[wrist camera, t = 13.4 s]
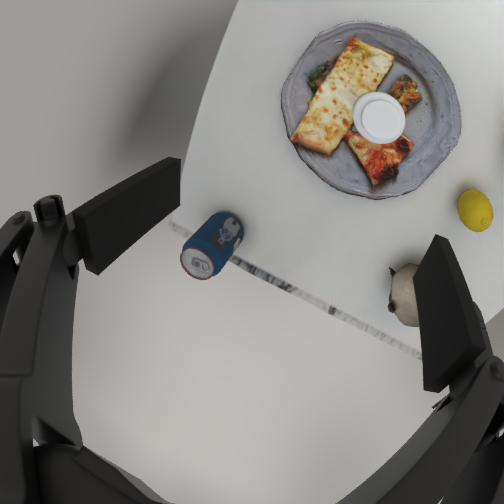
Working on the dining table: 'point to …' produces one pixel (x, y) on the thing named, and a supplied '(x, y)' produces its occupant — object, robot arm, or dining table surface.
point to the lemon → (475, 210)
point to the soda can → (211, 246)
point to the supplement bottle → (378, 117)
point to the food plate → (354, 85)
